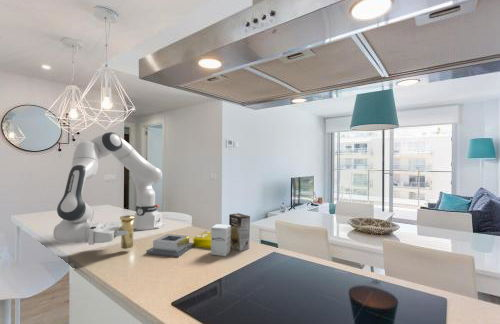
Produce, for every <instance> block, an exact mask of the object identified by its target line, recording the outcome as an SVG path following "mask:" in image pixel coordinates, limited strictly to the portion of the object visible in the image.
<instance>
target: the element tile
mask: <svg viewBox="0 0 500 324" xmlns="http://www.w3.org/2000/svg"><path fill="white" fill-rule="evenodd" d="M192 243H195V244H194V247H198V248H205V249H211V230H210V231H207V230H206V231H204V232H203V231H202V233H200V234H198V235H196V236H194V237H193V239H192Z"/></svg>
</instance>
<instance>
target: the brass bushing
mask: <svg viewBox="0 0 500 324" xmlns="http://www.w3.org/2000/svg"><path fill="white" fill-rule="evenodd" d="M134 219H135V214H134V215H132V214H131V215H130V214H129V215H128V214H127V215H121V216H120V217H119V220H120V222H121V231H124V230H128V234H127V235H121V236H120V237H121V239H120V244H121V245H120V248H121V249H124V250H126V249H132V248H133V247H134V229H133V224H134Z"/></svg>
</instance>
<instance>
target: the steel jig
mask: <svg viewBox="0 0 500 324" xmlns="http://www.w3.org/2000/svg"><path fill="white" fill-rule="evenodd" d="M194 244H195V243H193V242H190V235H183V234H182V235H181V234H173V233H172V234H170V233H167V234H164V235H162V236H160V237H158V238H156V239H154V240H153V241H152V247H151V248H149V249H147V250H146V255H151V254H154V256H161V255H164V256H163V257H171V256H175V257H174V258H180V257H181V256H183V255H184V254H186V253H187V252H189V251H190V250H191V249H193V248H194V247H195V246H194ZM185 252H186V253H185ZM179 256H180V257H179Z"/></svg>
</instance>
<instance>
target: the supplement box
mask: <svg viewBox="0 0 500 324" xmlns="http://www.w3.org/2000/svg"><path fill="white" fill-rule="evenodd" d="M210 232H211V248H210V255H213V256H222V257H227V255H228V254H230V252H231V247H230V243H231V225H229V224H219V223H216V224H214V225H213V226H211V230H210Z"/></svg>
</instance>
